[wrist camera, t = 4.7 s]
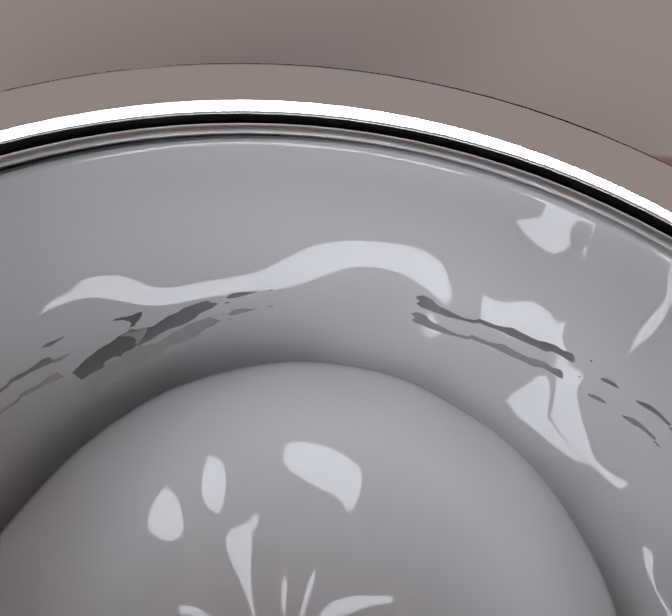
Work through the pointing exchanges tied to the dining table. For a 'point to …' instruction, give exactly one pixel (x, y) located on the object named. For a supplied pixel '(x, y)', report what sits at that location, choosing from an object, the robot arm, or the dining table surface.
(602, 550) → the beer glass
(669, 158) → the dining table surface
